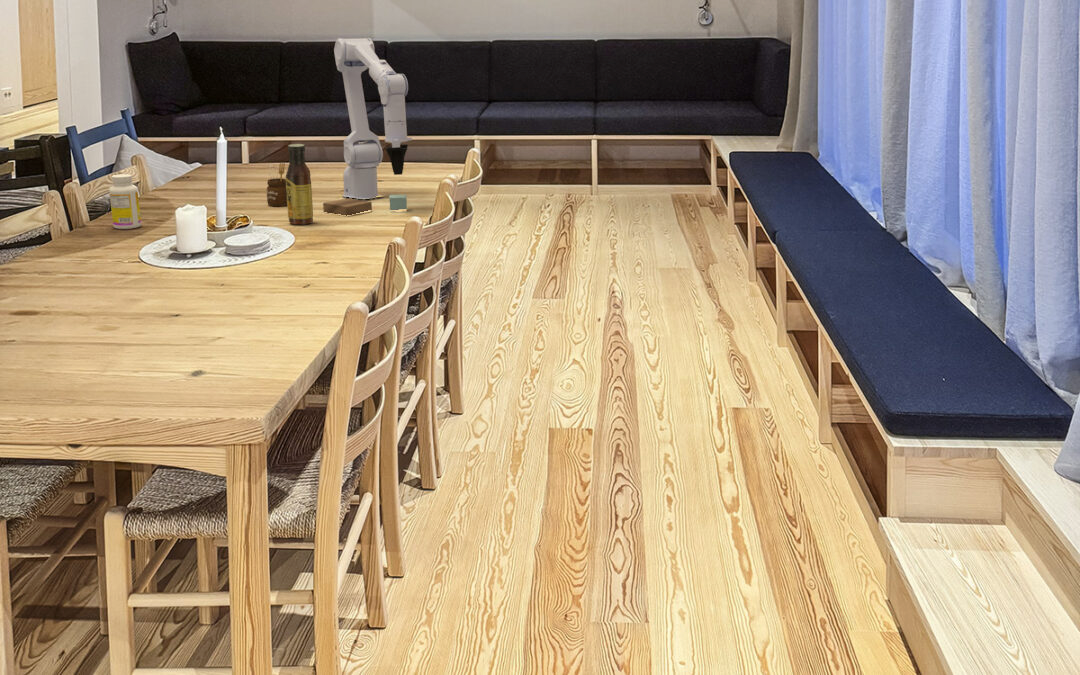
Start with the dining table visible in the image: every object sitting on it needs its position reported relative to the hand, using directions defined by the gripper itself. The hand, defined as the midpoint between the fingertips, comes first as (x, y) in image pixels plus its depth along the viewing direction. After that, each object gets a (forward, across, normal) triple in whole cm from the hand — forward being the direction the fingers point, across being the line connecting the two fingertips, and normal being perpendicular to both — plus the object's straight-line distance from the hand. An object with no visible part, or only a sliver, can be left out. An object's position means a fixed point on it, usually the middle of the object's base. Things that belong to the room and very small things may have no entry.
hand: (398, 173), depth 296 cm
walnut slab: (+10, -1, +14) cm, 17 cm away
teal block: (+10, 0, +1) cm, 10 cm away
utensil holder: (+8, +11, +34) cm, 36 cm away
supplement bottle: (+9, -16, +67) cm, 70 cm away
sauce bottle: (+10, -15, +25) cm, 31 cm away
